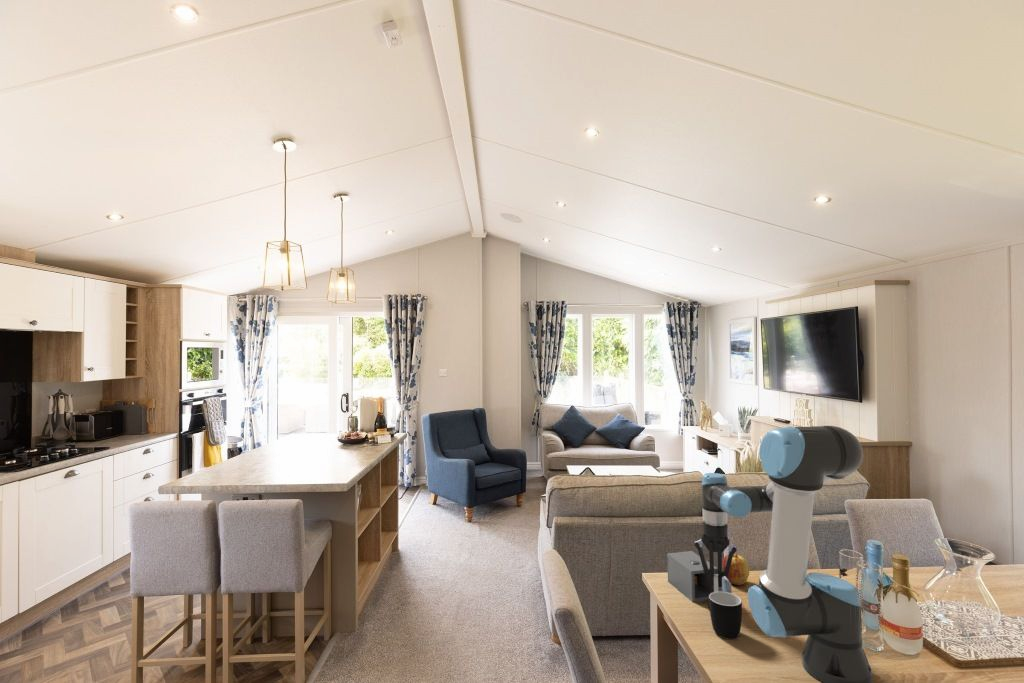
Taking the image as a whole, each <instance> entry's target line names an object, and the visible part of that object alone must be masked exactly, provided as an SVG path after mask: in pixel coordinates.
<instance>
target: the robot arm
mask: <svg viewBox="0 0 1024 683" xmlns="http://www.w3.org/2000/svg"><path fill="white" fill-rule="evenodd" d="M760 442H761V443H760V445H759V452H758V453H759V454H758V455H759V460H760V461H761V462H760V465H761V467H762V468H761V469H763V470H764V473H765V474H767V476H768V477H767V478H768V479H769V481H770V482H768V483H767V484H765V485H763V486H761V485H759V486H743V487H742V486H741V487H731V486H729V485H728V479H727V476H726V475H724V474H722V473H717V472H706V473H704V474H702V479H701V496H702V497H701V499H702V500H701V502H702V512H701V513H702V521H703V522H702V535H701V538H700V539H699V540H697V539H696V540H695V541H694V546H695V548H696V549H697V551H698V555H699V556H700V559H701V563H702V566H703V570H704V573H706V574H709V575H710V585H711V586H714V592H718V587H722V577H724V576H726V577H727V576H728V573H729V569H730V565H731V562H732V558H733V555H734V554H735V553H736V552H737V550H738V549H737V546H736V545H734V544H732V542H730V539H729V530H728V528H729V527H728V524H727V523H728V515H729V516H732V517H735V518H744V517H746V516H747V515H749V514H752V513H771V522H770V531H769V532H770V533H769V543H768V554H767V555H768V556H767V569H764V570H762V571H761V572H760V574H759V580H758V581H759V582H758V585H756V584H754V585H752V586H750V587H749V588H748V590H747V601H748V606H749V609H750V612H751V615H752V617H753V619H754V621H755V623H756V624H757V626H758V627H759V629H760V630H761V631H762V632H763V633H764V634H765V635H767V636H769V637H771V638H783V639H784V638H787V637H797V636H807V639H806V641H805V646H804V649H803V650H802V653H801V659H802V660H801V662H802V666H803V668H804V670H805V671H806V672H807V673H808V674H809V675H811V677H813V678H814V679H816V680H818V681H820V682H821V683H874V681H873V680H874V678H873V670H872V667H871V665H870V664H869V661H868V657H867V654H866V652H865V650H864V647H863V633H862V632H863V631H862V603H861V596H860V591H859V589H858V588H857V586H855V585H854V584H853V583H851V582H849V581H847V580H845V579H843V578H840V577H838V576H835V575H832V574H827V573H822V572H821V573H820V572H809V573H807V571H808V561H809V553H810V551H809V550H810V540H811V533H812V522H813V514H814V513H813V511H814V504H815V494H816V493H818V492H820V491H821V490H823V488H824V485H825V484H826V483H828V482H829V481H832V480H842V479H844V478H846V477H848V476H850V475H851V474H853V473H854V472H856V471H857V470H858V469H859V468H860V467H861V465H862V463H863V459H864V450H863V447H862V444H861V442H860V440H859V439H858V438H857V437H856V436H855V435H854V434H853V433H852V432H850V431H849V430H847V429H845V428H842V427H839V426H834V425H818V426H792V425H791V426H784V427H776V428H772V429H770V430H769V431H768V432H766V433H765V435H764V436H763V438H762V439H761V441H760ZM703 545H704V546H705V548H706V549H707V550H708V552H709V553H708V554H709V555H708V556H709V557H708V558H709V563H710V569H708V566H707V563H706V561H707V560H706V556H705V553H704V548H703ZM726 549H728V554H727V555H728V557H727V561H726V565H725V569H724V571H723V568H722V563H723V555H722V554H723V552H724V551H725V550H726ZM714 553H717V568H718V574H714V566H715V558H714V555H715V554H714Z"/></svg>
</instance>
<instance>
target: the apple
mask: <svg viewBox="0 0 1024 683" xmlns="http://www.w3.org/2000/svg"><path fill="white" fill-rule="evenodd" d="M727 557H728V554H727V555H725V556H724V557H723V558H722V571H724V569H725V565H726V561H727ZM749 577H750V566H749V563H748V561H747V560H746V559H745V558H744V557H743V556H741V555H739V554H735V553H734V555H733V558H732V562H731V565H730V569H729V573H728V576H727V577H726V578H727V579H728V580H729V582H730V583H731V585H735V586H742V585H744V584H746V582H747V580H748V578H749Z"/></svg>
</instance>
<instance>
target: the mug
mask: <svg viewBox="0 0 1024 683" xmlns="http://www.w3.org/2000/svg"><path fill="white" fill-rule="evenodd" d="M707 601H708V602H707V606H708V610H709V615H710V621H711V624H712V629H713V631H714V634H716V635H717V636H718V637H720V638H723V639H727V640H735V639H737V638H738V637H739V636H740V633H741V628H742V622H743V621H742V618H743V602H742V599H741V597H740V596H738V595H736V594H733V592H732V593H728V592H713V593H711V594H710V595H709V600H707Z"/></svg>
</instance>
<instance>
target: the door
mask: <svg viewBox="0 0 1024 683" xmlns="http://www.w3.org/2000/svg"><path fill="white" fill-rule="evenodd" d="M718 592H728V593H732V594H733V592H732V583H730V582H729V580H728V579H727V578H726V576H724V577H722V587H718Z"/></svg>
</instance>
